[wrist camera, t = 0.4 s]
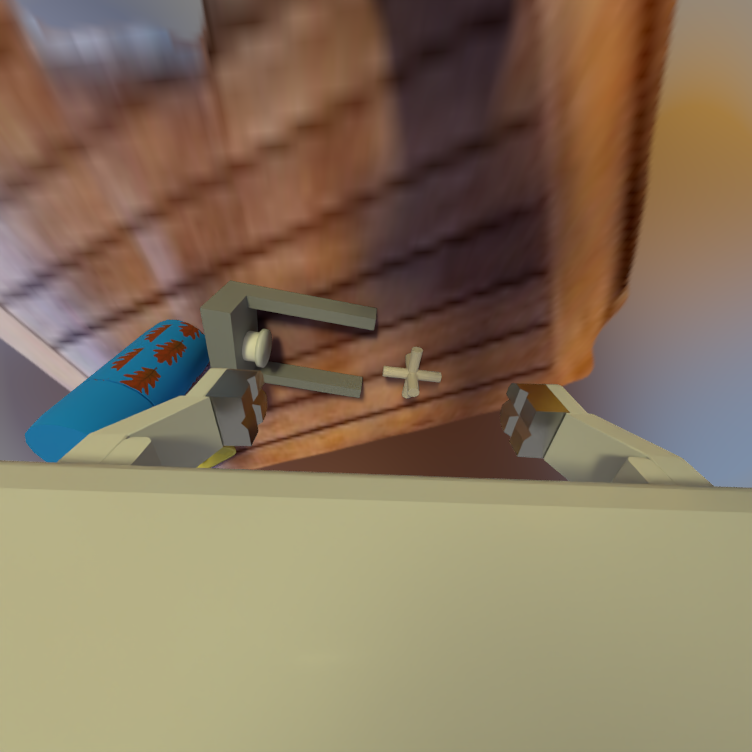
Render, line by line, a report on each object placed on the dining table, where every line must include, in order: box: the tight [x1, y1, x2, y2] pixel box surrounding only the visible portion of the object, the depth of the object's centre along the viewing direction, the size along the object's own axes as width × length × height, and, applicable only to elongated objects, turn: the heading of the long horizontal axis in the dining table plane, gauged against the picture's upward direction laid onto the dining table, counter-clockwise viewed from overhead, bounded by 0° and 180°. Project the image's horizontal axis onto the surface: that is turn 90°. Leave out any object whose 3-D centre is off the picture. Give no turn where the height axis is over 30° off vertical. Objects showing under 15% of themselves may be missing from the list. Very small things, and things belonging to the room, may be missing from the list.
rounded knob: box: [242, 329, 272, 368], centre depth 51 cm, size 6×7×6 cm
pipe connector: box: [383, 347, 441, 398], centre depth 53 cm, size 10×10×10 cm
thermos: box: [25, 320, 209, 462], centre depth 47 cm, size 11×11×25 cm
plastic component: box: [196, 446, 236, 468], centre depth 72 cm, size 20×7×10 cm
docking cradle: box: [200, 281, 377, 398], centre depth 52 cm, size 17×24×10 cm
